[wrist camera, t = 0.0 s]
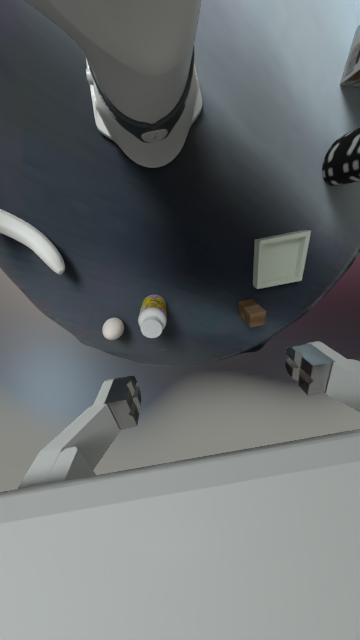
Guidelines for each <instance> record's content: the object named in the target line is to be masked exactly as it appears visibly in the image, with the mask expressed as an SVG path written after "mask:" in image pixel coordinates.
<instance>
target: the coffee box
mask: <svg viewBox="0 0 360 640" xmlns="http://www.w3.org/2000/svg"><path fill="white" fill-rule="evenodd" d="M340 85H342V86H352V87H360V26H359V27H358V28H357V30H356V33H355V36H354V39H353V43H352V46H351V50H350V53H349V56H348V60H347V63H346V66H345V70H344V73H343V76H342V80H341V83H340Z"/></svg>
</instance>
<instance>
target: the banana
mask: <svg viewBox="0 0 360 640" xmlns="http://www.w3.org/2000/svg"><path fill="white" fill-rule="evenodd" d="M0 233H2V234H4V235H6V236H9V237H11V238H13V239H15V240H17V241H19V242H21V243H22V244H24V245H26V246H27V247H29V248H30V249H31V250H33V251H34V252H35V253H36V254H37V255H38V256H39V257H40V258H41V259H42V260H43V261H44V262H45V263H46V264H47V265H48V266H49V267H50V268H51V269H52V270H53V271H54V272H56V273H58V274H62V273H63V272H64V271H65V263H64V260H63V258H62V256H61V254H60V253H59V251H58V250H57V248H56V247H55V246H54V245H53V243H52V242H51V241H50V240H49V239H48V238H47V237H46V236H45V235H44V234H43V233H41V232H40V231H39V230H37V229H36V228H35V227H33V226H32V225H30V224H29V223H27V222H25V221H24V220H22V219H20V218H18V217H16V216H14V215H12V214H10V213H8V212H6V211H4V210H1V209H0Z"/></svg>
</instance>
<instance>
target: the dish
mask: <svg viewBox="0 0 360 640" xmlns="http://www.w3.org/2000/svg"><path fill="white" fill-rule="evenodd" d="M310 234H311V231H309V230H301V231H296V232H291V233H286V234H281V235H276V236H270V237H265V238H260V239H255V244H254V267H253V287H255V288H256V289H260V288H266V287H271V286H276V285H281V284H286V283H292V282H297V281H302V276H303V271H304V266H305V260H306V255H307V250H308V245H309V239H310Z"/></svg>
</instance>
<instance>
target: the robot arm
mask: <svg viewBox="0 0 360 640" xmlns="http://www.w3.org/2000/svg"><path fill="white" fill-rule="evenodd" d="M24 1H26V2H27V3H29V4H30V5H31V6H33V7H34V8H36V9H37V10H38V11H39V12H41V13H42V14H43V15H45V16H46V17H47V18H49V19H50V20H51V21H52V22H54V23H55V24H56V25H57V26H58V27H60V28H61V29H62V30H63V31H64V32H66V33H67V34H68V35H69V36H70V37H71V38H72V39H74V40H75V41H76V42H77V44H78V45H79V47H80V49H81V51H82V52H83V53H84V55H85V57H86V63H87V69H86V75H87V79H88V82H89V85H90V89H91V96H92V103H93V109H94V116H95V122H96V125H97V128H98V130H99V131H100V132H101V133H102V134H103V135H104V136H106V137H107V138H109V139H111V140H113V141H114V142H115V143H116V144H117V145H118V146H119V147H120V148H121V149H122V151H123V152H124V153H125V154H126V155H127V156H128V157H129V158H130V159H131V160H133V161H134V162H136V163H137V164H139V165H142V166H144V167H149V168H157V167H161V166H164V165H166V164H168V163H169V162H171V161H172V160H173V159H174V158H175V157H176V156H177V155H178V154H179V152H180V151H181V149H182V147H183V145H184V143H185V140H186V138H187V135H188V131H189V129H190V127H191V125H192V124H193V122H194V121H195V120H196V119H197V117H198V116H199V114H200V112H201V110H202V96H201V91H200V86H199V80H198V77H197V72H196V67H195V62H194V41H195V36H196V30H197V24H198V18H199V12H200V6H201V0H24ZM286 354H287V355H288V356H289V357H288V358H287V359H286V361H285V367H286V370H287V372H288V374H289V375H290V377H291V378H292V379H295V380H297V381H298V386H299V387H300V388H301V389H302V390H303V391H304V392H305V393H306V394H307V395H314V394H321V393H326V394H327V395H329V396H331V397H333V398H335V399H336V400H338V401H341V402H342V403H344V404H346V405H347V406H349V407H351V408H353V409H355V410H357V411H359V412H360V362H359V361H356V360H352V359H350V360H347V359H346V358H344V357H343V356H341V355H340V354H338V353H337V352H335V351H334V350H332V349H331V348H329V347H328V346H326V345H325V344H323V343H322V342H318V341H316V342H311V343H307V344H302V345H297V346H292V347H288V348H287V350H286ZM136 382H137V381H136V378H135V377H134V376H128V377H122V378H116V379H110V380H106V381H104V383H103V385H102V387H101V390H100V391H99V393H98V396H97V398H96V400H95V402H94V404H93V406H92V407H89V408H88V409H87V410H86V411H85V412H83V413H82V414H81V415H80V416H79V417H78V418H77V419H76V420H75V421H73V423H71V424H70V425H69V426H68V427H67V428H66V429H65V430H63V431H62V432H61V433H60V434H59V435H58V436H57V437H56V438H55V439H54V440H52V441H51V442H50V443H49V444H48V445H47V446H46V447H45V448H44V449H42V451H40V452H39V454H38V456H37V457H36V459H35V461H34V462H33V464H32V466H31V468H30V469H29V471H28V472H27V474H26V476H25V477H24V479H23V481H22V482H21V484H20V485H19V487H18V489H16V490H10V491H4V492H0V640H360V429H357V430H352V431H345V432H340V433H335V434H328V435H323V436H317V437H312V438H306V439H300V440H295V441H289V442H284V443H278V444H272V445H267V446H261V447H255V448H249V449H244V450H238V451H233V452H227V453H221V454H215V455H209V456H204V457H198V458H192V459H187V460H181V461H175V462H169V463H164V464H158V465H152V466H147V467H141V468H136V469H130V470H124V471H118V472H113V473H107V474H101V475H96V474H95V473H94V471H93V470H94V468H95V467H96V465H97V464H98V462H99V461H100V459H101V458H102V457H103V455H104V454H105V452H106V451H107V449H108V448H109V446H110V445H111V443H112V442H113V441H114V439H115V438H116V436H117V435H118V433H119V432H120V430H121V429H126V428H131V427H135V426H137V424H138V419H139V412H138V408H139V407H140V406H141V392H140V389H139V387H138V386H136Z"/></svg>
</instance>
